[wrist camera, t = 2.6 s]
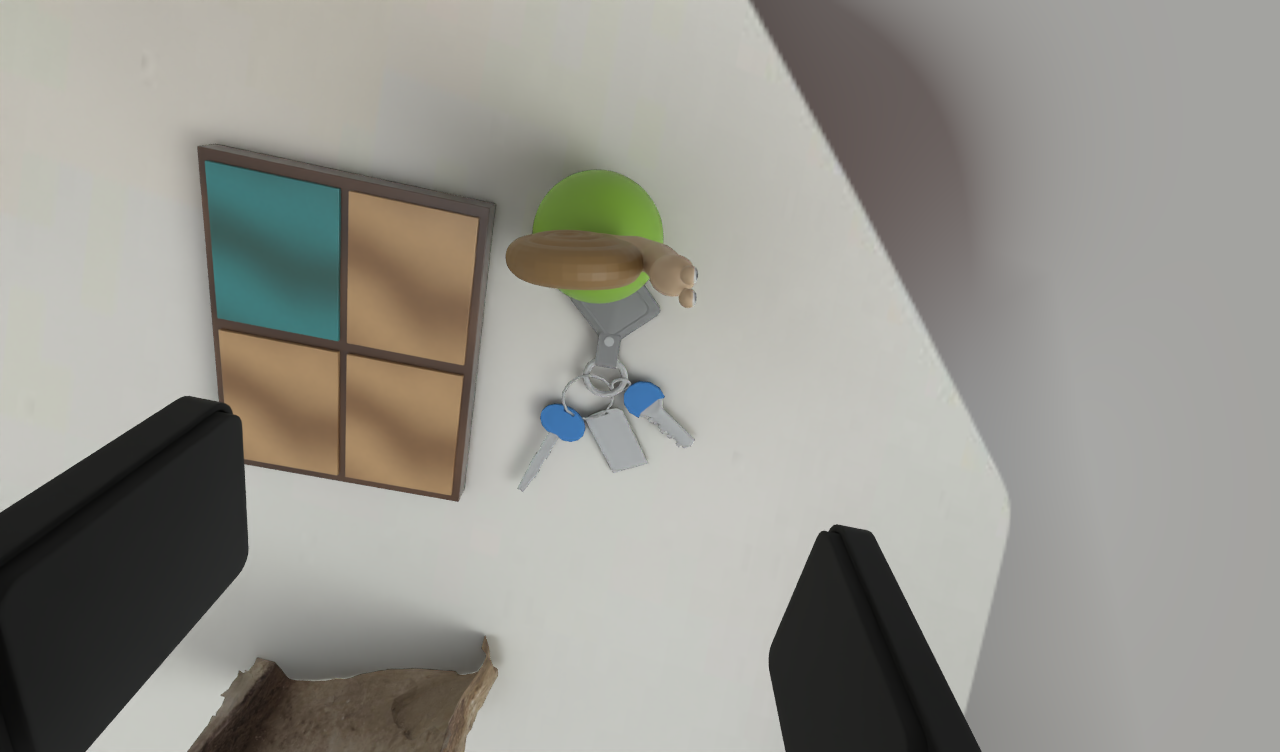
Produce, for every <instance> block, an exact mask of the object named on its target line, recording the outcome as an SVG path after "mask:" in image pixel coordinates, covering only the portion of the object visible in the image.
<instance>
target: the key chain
mask: <svg viewBox="0 0 1280 752" xmlns="http://www.w3.org/2000/svg"><path fill="white" fill-rule="evenodd" d="M571 301H572V302H573V303H574V304H575V306H576V307H577V308H578V310H579V311H580V312H581V313H582V315H583V316H584V317H585V319H586V320H587V321H588V322H589V324H590V325H591V326H592V328H593V329H594V330H595V331H596V333H597V334H598V335H599V340H598V346H597V352H596V358H594V359H593V360H591V361H590V362H588V363H587V365H586V367H585V369H584V370H583V376H578V377H576V378H575V379H573V380H572V381H570V382H569V383H568V384H567V386H566V387H565V389H564V390H563V392H562V404H551V405H548V406H546V407H545V408H544V409H543V410H542V413H541V417H540V419H541V423H542V425H543V427H544V428H545V429H546V430H547V431H548V432H549V433H548V435H547V436H546V438H545V440H544V441H543V443H542V444H541V446H540V447H541V448H540V450H539V451H538V453H536V454H535V456H534V458H533V459H532V461H531V462H530V464H529V465H530V466H529V468H528V469H527V471H526V473H525V475H524V476H523V478H522V480H521V482H520V484H519V486H518V488H517V489H519V490H521V491H522V492H523V491H524V490H525V489H526V487H527V486H528V485H529V483H530V482H531V481H532V479H533V478H535V477H536V475H537V473H538V472H539V468H540V467H541V465H542V464H543V462H544V460H545V459H547V458H548V456H549V454H550V453H551V449H552V448H553V446H554V444H555V443H556V441H557V440H558V438H561V439H562V440H564V441H569V442H572V441H576V440H579V439H580V438H581V437H582V436H583V434H584V431H585V424H584V420H586V422H587V424H588V426H589V428H590V430H591V432H592V434H593V435H594V437H595V439H596V441H597V443H598V445H599V447H600V449H601V451H602V453H603V455H604V457H605V458H606V460H607V462H608V464H609V466H610V468H611V470H612V472H613V473H615V472H618V471H622V470H626V469H629V468H633V467H637V466H640V465H644V464H648V462H647V460H646V458H645V456H644V453H643V451H642V449H641V447H640V445H639V443H638V441H637V439H636V437H635V435H634V433H633V431H632V429H631V427H630V425H629V423H628V421H627V419H626V417H625V415H624V412H623V410H621V409H619V408H612V409H610V407H611V406H612V404H613V401H614V396H615V395H617V394H618V393H620V392H623V391H626V392H625V393H624V405H625V406H626V408H627V409H628V411H629V412H630V413H631V414H633V415H635V416H636V417H638V418H639V416H643V417H650V418H648V421H649V422H653V423H654V424H656V423H658V424H659V426H658V428H659V429H660V432H661V433H662V434H663V433H665V432H667V433H668V435H667V436H668V437H669V438H671V437H673V438H674V439H675V440H676V441H677V443H676V445H677V446H678V447H679V446H682V447H683V448H686V447H689V446H691V445H692V444H693V442H694V441H695V439H694V438H693V437H692V436H691V435H690V434H689V433H688V432H687V431H686V430H685V429H684V428H683V427H682V426H681V425H680V424H679V423H678V422H677V421H675V420H674V419H673V418H672V417H671V416H670V415H669V414H668V413H667V412H666V411H665V410H664V409H663V408H662V407H663V398H664V397H665V396H664V395H663V393H662V391H661V390H660V388H659V387H657V386H656V385H654V384H652V383H651V382H643V381H638V382H636V383H634V384H632V385H631V382H630V381H629V380H628V373H627V371H626V369H625V366H624V365H623V364H622V363H621V362H620V361H618V360H617V359H618V353H619V348H620V342H621V339H622V338H624V337H625V336H627V335H628V334H630V333H631V332H633V331H634V330H636V329H637V328H639V327H641V326H642V325H644V324H645V323H647V322H648V321H650V320H651V319H653V318H654V317H656V316H657V315H658V314H659V313H660V307H659V305H658V304H657V302H656V301H655V300H654V298H653V297H652V295H651V294H650V293H649V291H648V290H647V288H646V287H645V286H644V285H643V286H642V287H641V288H640V289H639V290H637V291H636V292H635V293H633V294H631V295H630V296H628V297H626V298H624V299H621V300H618V301H615V302H610V303H600V304H597V303H587V302H583V301H579V300H576V299H574V298H572V297H571ZM595 365H596V366H602V367H608V368H615V369H616V367H617V368H619V371H620V373H621V378H617V379H615V380H613V381H612V382H611V384H610V383H609V382H608V381H606V380H605V379H604V378H602V377H600V376H596V375H591V374H590V371H591V369H592V368H593V366H595ZM589 377H593V378H598V379H601V380H602V381H603V382H605V383H606V384H607V385H608V386H609V389H610V391H601V390H598V389H596V388H595V387H594V386H593V385H592V383H591V381H590V379H589ZM580 378H583V381H584V383H585V385H586V387H587V389H588V390H590V391H591V392H592V393H593V394H595V395H598V396H601V397H611V403H610V404H609V406H608V407H607V409H606V410H603V411H600V412H597V413H594V414H592V415H590V416H588V418H584V417H581V416H580V414H579V413H577V412H576V411H575V410H574V409H572V408H570V407H568V406H566V404H565V392H566V391H567V389H568V387H569V386H570V384H572V383H573V382H575V381H576V380H578V379H580ZM618 381H621V382H620V384H619V385H618V387H617V388H615V387H614V386H613V384H614V383H616V382H618ZM627 382H628V386H627V387H626V388H625V386H626V384H627ZM570 411H571V412H570ZM607 412H608V414H605V413H607ZM603 414H605V415H603Z"/></svg>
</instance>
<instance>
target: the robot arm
mask: <svg viewBox="0 0 1280 752" xmlns="http://www.w3.org/2000/svg"><path fill="white" fill-rule="evenodd" d="M247 556H248V530H247V510H246V490H245V470H244V450H243V430H242V421H241V419H240V417H239V416H237V415H234V414H233V412H232V409H231V407H230V406H229V405H227V404H226V403H222V402H217V401H212V400H206V399H201V398H196V397H191V396H184V397H181V398H179V399H177V400H176V401H174V402H172V403H171V404H169V405H168V406H166V407H165V408H163V409H162V410H160V411H158V412H157V413H155V414H154V415H152V416H151V417H149V418H147V419H146V420H144V421H143V422H141V423H140V424H138V425H137V426H135V427H133V428H132V429H130V430H129V431H127V432H126V433H124V434H122V435H121V436H119V437H118V438H116V439H115V440H113V441H112V442H110V443H108V444H107V445H105V446H104V447H102V448H101V449H99V450H97V451H96V452H94V453H93V454H91V455H90V456H88V457H87V458H85V459H83V460H82V461H80V462H79V463H77V464H76V465H74V466H72V467H71V468H69V469H68V470H66V471H65V472H63V473H62V474H60V475H58V476H57V477H55V478H54V479H52V480H51V481H49V482H47V483H46V484H44V485H43V486H41V487H40V488H38V489H37V490H35V491H33V492H32V493H30V494H29V495H27V496H26V497H24V498H22V499H21V500H19V501H18V502H16V503H15V504H13V505H12V506H10V507H8V508H7V509H5V510H4V511H2V512H1V513H0V752H86V750H87V749H88V748H89V747H90V746H91V745H92V744H93V742H94V741H95V740H96V739H97V738H98V737H99V735H100V734H101V733H102V732H103V731H104V730H105V728H106V727H107V726H108V725H109V724H110V723H111V722H112V720H113V719H114V718H115V717H116V716H117V715H118V713H119V712H120V711H121V710H122V709H123V708H124V707H125V705H126V704H127V703H128V702H129V701H130V700H131V698H132V697H133V696H134V695H135V694H136V693H137V691H138V690H139V689H140V688H141V687H142V686H143V685H144V683H145V682H146V681H147V680H148V679H149V678H150V676H151V675H152V674H153V673H154V672H155V671H156V670H157V668H158V667H159V666H160V665H161V664H162V663H163V661H164V660H165V659H166V658H167V657H168V656H169V654H170V653H171V652H172V651H173V650H174V649H175V648H176V646H177V645H178V644H179V643H180V642H181V641H182V639H183V638H184V637H185V636H186V635H187V634H188V633H189V631H190V630H191V629H192V628H193V627H194V626H195V624H196V623H197V622H198V621H199V620H200V619H201V617H202V616H203V615H204V614H205V613H206V612H207V611H208V609H209V608H210V607H211V606H212V605H213V604H214V602H215V601H216V600H217V599H218V598H219V597H220V596H221V594H222V593H223V592H224V591H225V590H226V589H227V587H228V586H229V585H230V584H231V583H232V582H233V581H234V579H235V578H236V577H237V576H238V575H239V573H240V572H241V571H242V569H243V567H244V565H245V562H246V560H247ZM769 671H770V676H771V681H772V686H773V691H774V696H775V701H776V706H777V711H778V716H779V721H780V726H781V731H782V736H783V741H784V746H785V751H786V752H981V750H980V748H979V746H978V744H977V742H976V740H975V737H974V736H973V734H972V731H971V729H970V727H969V725H968V723H967V722H966V720H965V717H964V715H963V713H962V711H961V709H960V707H959V705H958V703H957V701H956V699H955V697H954V695H953V693H952V691H951V689H950V687H949V685H948V683H947V681H946V679H945V677H944V675H943V673H942V671H941V669H940V667H939V665H938V663H937V661H936V659H935V657H934V655H933V653H932V651H931V649H930V647H929V645H928V643H927V641H926V639H925V637H924V635H923V633H922V631H921V629H920V627H919V625H918V623H917V621H916V619H915V617H914V615H913V613H912V611H911V609H910V607H909V605H908V603H907V601H906V599H905V597H904V595H903V593H902V591H901V589H900V587H899V585H898V583H897V581H896V579H895V577H894V575H893V573H892V571H891V569H890V567H889V565H888V563H887V561H886V559H885V557H884V555H883V553H882V551H881V549H880V547H879V545H878V543H877V541H876V539H875V537H874V535H873V534H872V533H871V532H870V531H868V530H863V529H857V528H852V527H847V526H842V525H833V526H832V527H831V528H830V530H829V532H827V531H821V532H820V533H819V535H818V536H817V538H816V541H815V543H814V545H813V548H812V550H811V553H810V555H809V557H808V560H807V562H806V564H805V567H804V569H803V571H802V574H801V576H800V578H799V581H798V583H797V585H796V588H795V590H794V592H793V595H792V597H791V600H790V602H789V604H788V607H787V609H786V611H785V614H784V616H783V618H782V621H781V623H780V625H779V628H778V630H777V632H776V635H775V637H774V639H773V642H772V644H771V647H770V652H769Z"/></svg>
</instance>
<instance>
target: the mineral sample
mask: <svg viewBox="0 0 1280 752" xmlns="http://www.w3.org/2000/svg"><path fill="white" fill-rule="evenodd" d="M482 649H483V651H484V652H485V654H486V658H485V660H484V663H483V665H482V667H481V668H480V669H479V671H478V672H475V673H472V674H465V675H459V674H457V672H456V671H443V670H431V669H416V668H411V669H387V670H385V671H383V670H381V671H376V672H371V673H364V674H360V675H357V676H354V677H352V678H348V679H332V680H327V681H300V680H292V679H289V678H288V677H287V676H286V675H285V674H284V672H283V671H282V670H281V669H280V667H279V666H278V665H277V664H276V663H275V662H272V661H268V660H264V659H260V658H257V659H256V661H255V663H254V665H253V666H252V667H251V669H250V670H249V671H246V670H245V673H242V672H241V671H240V670H239V673H238V676H237V678H236V679H235V680H234V681H233V682H232V684H231V686H230V688H229V689H228V690H227V691H225V692H224V693H223V694H221V695H220V696H223V697H225V699H224V701H223V704H222V706H221V707H220V709H219V710H218V711H217V713H216V716H212V717H211V719H210V722H209V724H208V726H207V727H206V728H205V729H204V730H203V732H202V733H201V734H200V736H199V737H198V738H197V740H196V741H195V742H194V744H193V745H192V746H191V747H190V749H189V750H188V751H187V752H464V750H465V743H466V735H467V734H468V733H469V731H470V730H471V729H472V725H473V722H474V721H475V718H476V715H477V712H478V710H479V709H480V708H481V707H482V706H483V703H484V701H485V699H486V697H487V695H488V692H489V690H490V689H491V687H492V685H493V683H494V681H495V680H496V678H497V676H498V669H497V668H495V667H493V664H492V662H491V660H490V651H489V645H488V642H487V639H486V636H485V637H484V641H483V645H482Z"/></svg>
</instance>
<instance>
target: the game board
mask: <svg viewBox="0 0 1280 752" xmlns="http://www.w3.org/2000/svg"><path fill="white" fill-rule="evenodd" d="M197 148H198V160H199V172H200V184H201V195H202V207H203V219H204V231H205V242H206V254H207V266H208V278H209V289H210V301H211V313H212V325H213V336H214V348H215V360H216V372H217V383H218V395H219V402H222V403H226V404H227V405H229V406H230V407H231V409H232V412H233V414H234V415H237V416H239V417H240V419H241V421H242V430H243V450H244V464H247V465H252V466H258V467H264V468H269V469H275V470H281V471H286V472H292V473H298V474H303V475H309V476H315V477H321V478H326V479H332V480H338V481H343V482H349V483H355V484H360V485H366V486H372V487H378V488H383V489H389V490H395V491H400V492H406V493H412V494H417V495H423V496H429V497H434V498H440V499H446V500H452V501H457V502H458V501H459V500H460V497H461V495H462V493H463V491H464V488H465V479H466V470H467V460H468V451H469V442H470V433H471V424H472V415H473V406H474V397H475V388H476V378H477V369H478V360H479V351H480V342H481V333H482V324H483V315H484V306H485V296H486V287H487V278H488V269H489V260H490V251H491V242H492V233H493V224H494V214H495V203H490V202H485V201H481V200H476V199H471V198H467V197H462V196H457V195H453V194H448V193H443V192H438V191H434V190H429V189H424V188H420V187H415V186H410V185H406V184H401V183H396V182H392V181H387V180H382V179H378V178H373V177H368V176H363V175H359V174H354V173H349V172H345V171H340V170H335V169H331V168H326V167H321V166H317V165H312V164H307V163H303V162H298V161H293V160H288V159H284V158H279V157H274V156H270V155H265V154H260V153H256V152H251V151H246V150H242V149H237V148H232V147H228V146H223V145H218V144H210V145H202V146H198V147H197Z"/></svg>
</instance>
